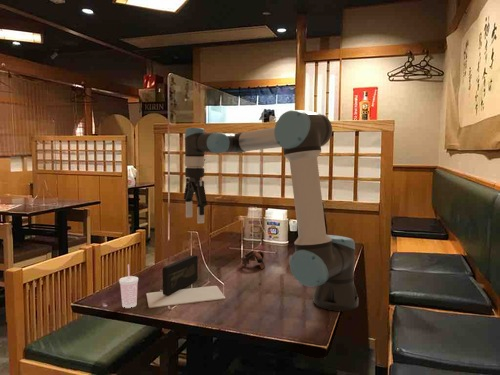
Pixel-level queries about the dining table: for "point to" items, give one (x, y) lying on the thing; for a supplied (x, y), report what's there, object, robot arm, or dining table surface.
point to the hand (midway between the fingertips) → (194, 220)
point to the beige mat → (184, 296)
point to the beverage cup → (129, 290)
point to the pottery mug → (252, 256)
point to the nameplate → (180, 274)
